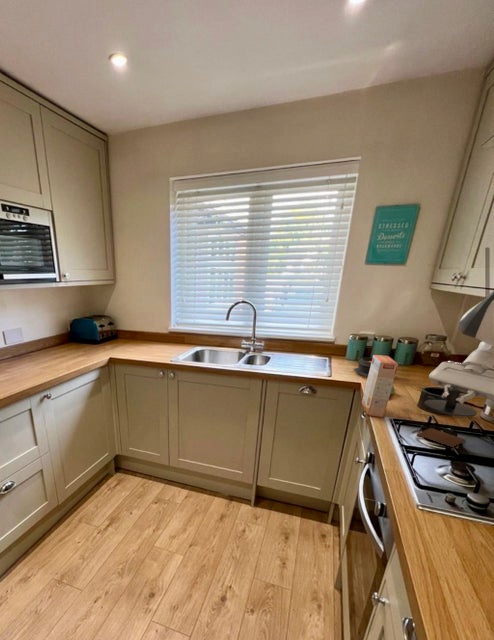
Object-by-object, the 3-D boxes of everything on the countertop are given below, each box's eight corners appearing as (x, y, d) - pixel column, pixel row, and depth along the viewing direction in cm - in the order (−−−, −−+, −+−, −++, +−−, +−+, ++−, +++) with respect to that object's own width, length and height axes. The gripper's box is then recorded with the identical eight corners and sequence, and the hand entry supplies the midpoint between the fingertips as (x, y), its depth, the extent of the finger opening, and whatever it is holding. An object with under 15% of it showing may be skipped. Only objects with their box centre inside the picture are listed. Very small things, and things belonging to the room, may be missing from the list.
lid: (482, 413, 103) (490, 393, 100) (466, 422, 96) (473, 400, 93) (434, 400, 113) (440, 381, 110) (416, 407, 106) (422, 387, 104)
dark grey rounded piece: (394, 384, 164) (398, 367, 161) (353, 378, 172) (356, 363, 169) (390, 372, 185) (394, 358, 182) (353, 368, 193) (356, 354, 190)
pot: (463, 413, 129) (470, 393, 126) (444, 423, 120) (451, 401, 117) (427, 403, 139) (433, 384, 136) (407, 411, 129) (413, 391, 126)
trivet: (464, 441, 106) (465, 439, 106) (452, 448, 101) (452, 447, 101) (429, 429, 114) (430, 427, 114) (416, 436, 109) (416, 434, 109)
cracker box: (384, 418, 123) (399, 363, 115) (366, 415, 124) (379, 361, 117) (377, 405, 135) (389, 355, 128) (361, 403, 137) (372, 353, 130)
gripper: (442, 353, 110) (415, 384, 110) (520, 369, 93) (488, 405, 92) (446, 365, 114) (420, 395, 113) (522, 382, 96) (491, 418, 96)
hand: (451, 400), depth 103 cm, fingers closed on lid, 2 cm apart
